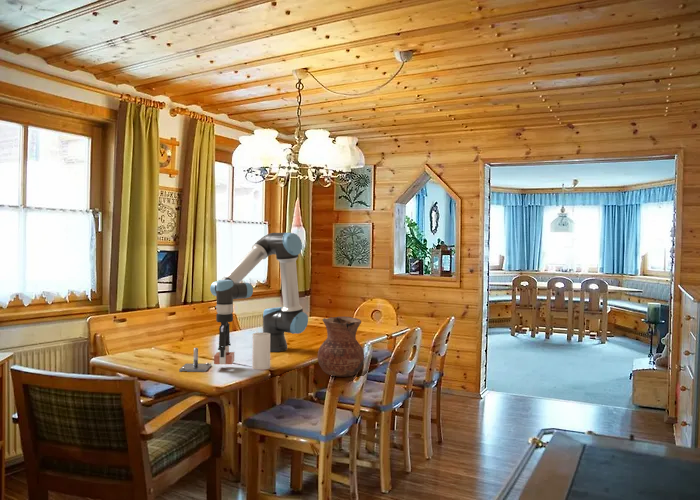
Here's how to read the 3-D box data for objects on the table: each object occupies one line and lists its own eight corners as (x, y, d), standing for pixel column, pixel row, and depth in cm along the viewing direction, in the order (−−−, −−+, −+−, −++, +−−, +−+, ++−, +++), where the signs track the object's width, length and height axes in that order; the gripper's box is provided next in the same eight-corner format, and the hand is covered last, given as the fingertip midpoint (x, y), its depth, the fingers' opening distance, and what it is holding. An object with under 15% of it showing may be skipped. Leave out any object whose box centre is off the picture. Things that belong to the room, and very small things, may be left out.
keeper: (211, 365, 259) (211, 345, 259) (206, 371, 248) (206, 350, 247) (185, 365, 259) (185, 345, 259) (179, 371, 247) (179, 350, 247)
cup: (253, 365, 261) (253, 332, 260) (270, 365, 261) (270, 332, 261) (251, 369, 252) (251, 335, 252) (269, 369, 253) (269, 335, 253)
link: (234, 360, 258) (234, 352, 258) (231, 364, 250) (231, 355, 250) (217, 360, 258) (217, 352, 258) (214, 364, 250) (214, 355, 250)
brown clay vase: (370, 378, 240) (370, 321, 240) (323, 380, 234) (324, 322, 234) (355, 366, 261) (356, 314, 261) (312, 369, 255) (313, 315, 255)
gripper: (220, 310, 264) (220, 357, 264) (212, 316, 243) (211, 367, 243) (236, 310, 264) (235, 357, 265) (229, 316, 243) (228, 367, 244)
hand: (224, 361), depth 254 cm, fingers closed on link, 8 cm apart
